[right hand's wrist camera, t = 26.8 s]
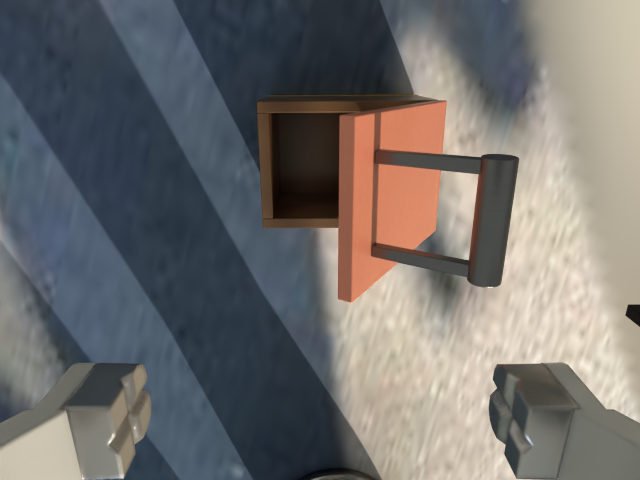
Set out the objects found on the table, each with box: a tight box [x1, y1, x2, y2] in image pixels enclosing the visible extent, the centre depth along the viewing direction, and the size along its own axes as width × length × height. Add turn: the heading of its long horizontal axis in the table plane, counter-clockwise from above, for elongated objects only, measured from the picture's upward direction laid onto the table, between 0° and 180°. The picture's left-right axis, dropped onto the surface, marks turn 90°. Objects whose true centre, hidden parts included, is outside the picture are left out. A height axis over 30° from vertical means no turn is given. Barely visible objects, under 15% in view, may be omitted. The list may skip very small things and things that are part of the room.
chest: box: [257, 95, 435, 228], centre depth 40 cm, size 14×10×9 cm
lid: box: [338, 100, 519, 303], centre depth 28 cm, size 14×10×8 cm
